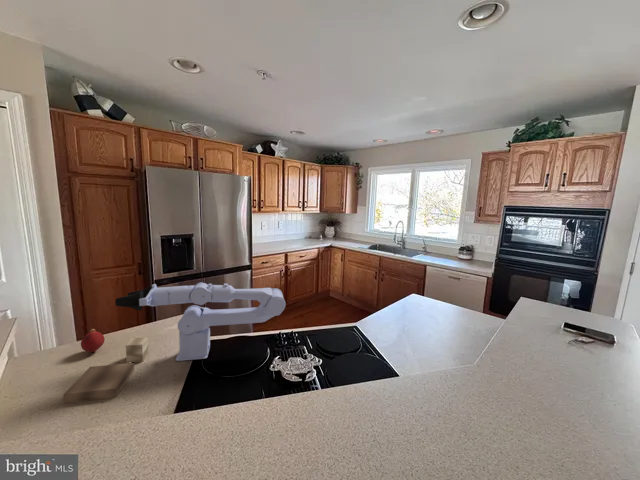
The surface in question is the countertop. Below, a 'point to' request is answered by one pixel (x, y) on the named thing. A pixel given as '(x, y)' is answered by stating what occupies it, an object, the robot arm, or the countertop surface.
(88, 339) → the onion
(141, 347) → the beech block
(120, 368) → the walnut block
